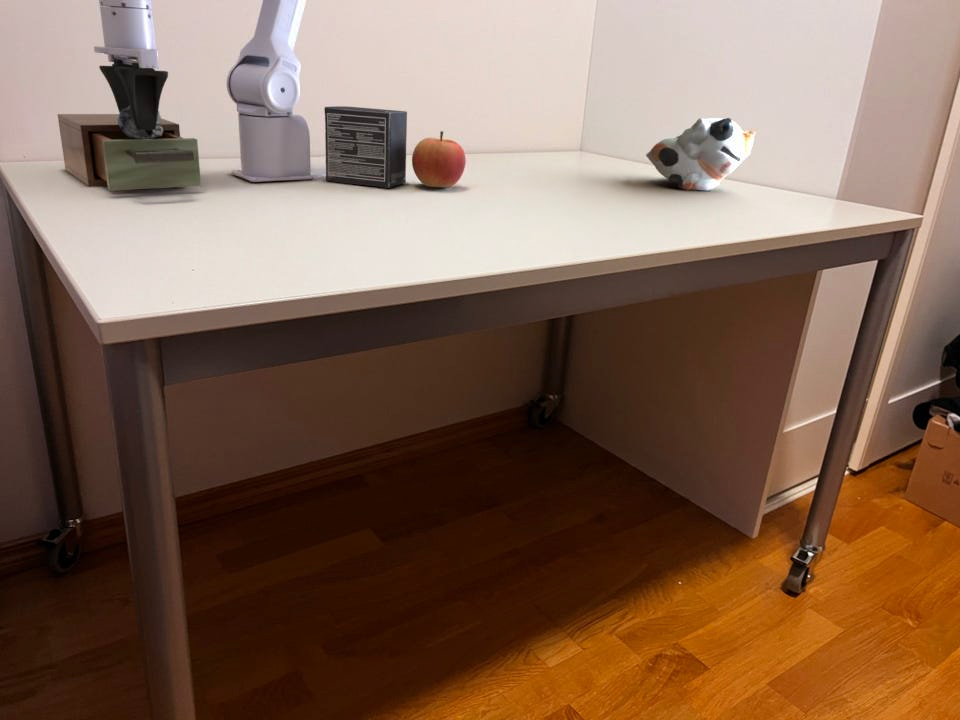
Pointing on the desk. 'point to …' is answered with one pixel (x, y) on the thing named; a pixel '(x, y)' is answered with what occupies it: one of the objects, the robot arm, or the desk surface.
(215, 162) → the desk surface
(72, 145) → the cabinet
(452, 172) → the apple
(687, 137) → the lucky cat figurine
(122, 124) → the wristwatch
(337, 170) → the small box
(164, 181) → the drawer
